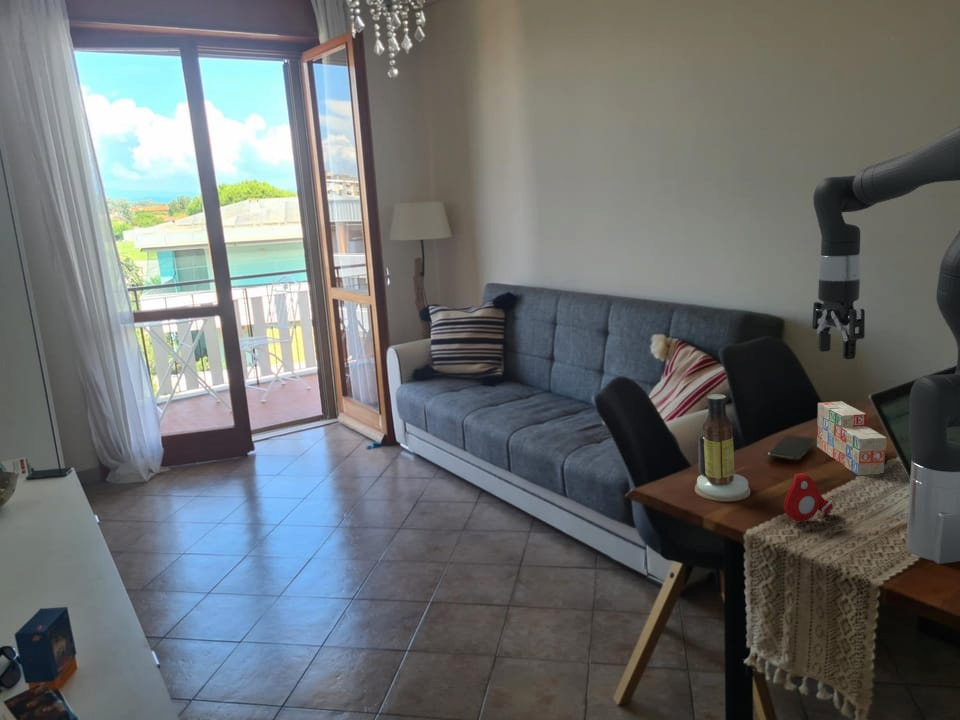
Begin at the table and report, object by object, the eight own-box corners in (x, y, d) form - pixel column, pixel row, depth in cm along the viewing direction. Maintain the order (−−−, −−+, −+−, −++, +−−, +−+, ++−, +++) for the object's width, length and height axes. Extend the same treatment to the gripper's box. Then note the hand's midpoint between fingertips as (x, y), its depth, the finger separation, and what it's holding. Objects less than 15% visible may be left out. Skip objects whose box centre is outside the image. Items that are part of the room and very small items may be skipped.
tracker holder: (789, 529, 142) (790, 482, 140) (775, 520, 147) (776, 474, 144) (840, 518, 145) (842, 472, 143) (824, 510, 150) (826, 465, 147)
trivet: (760, 498, 157) (760, 487, 157) (708, 504, 156) (708, 493, 156) (735, 478, 169) (735, 468, 168) (686, 484, 168) (686, 474, 167)
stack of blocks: (884, 475, 165) (887, 424, 163) (857, 477, 166) (860, 426, 163) (840, 445, 186) (841, 400, 184) (816, 446, 187) (817, 401, 184)
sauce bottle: (732, 475, 164) (732, 391, 159) (736, 485, 158) (736, 399, 153) (702, 475, 165) (701, 392, 161) (705, 485, 159) (705, 400, 155)
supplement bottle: (716, 480, 162) (716, 430, 160) (692, 472, 168) (692, 424, 165) (735, 473, 166) (735, 423, 163) (711, 465, 171) (711, 417, 169)
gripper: (879, 278, 138) (875, 360, 141) (835, 273, 152) (832, 347, 155) (843, 281, 137) (839, 363, 141) (802, 275, 151) (800, 350, 155)
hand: (836, 354), depth 148 cm, fingers open, 8 cm apart
